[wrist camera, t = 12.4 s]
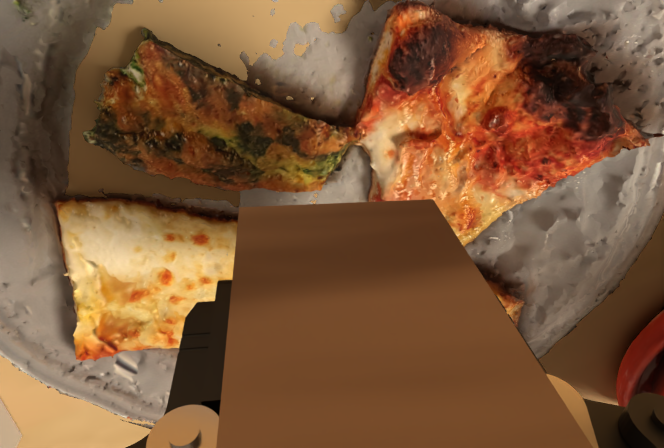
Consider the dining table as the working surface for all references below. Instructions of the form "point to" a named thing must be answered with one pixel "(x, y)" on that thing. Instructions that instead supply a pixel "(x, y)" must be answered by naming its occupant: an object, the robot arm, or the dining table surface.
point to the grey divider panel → (8, 429)
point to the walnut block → (375, 338)
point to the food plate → (322, 166)
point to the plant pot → (643, 363)
